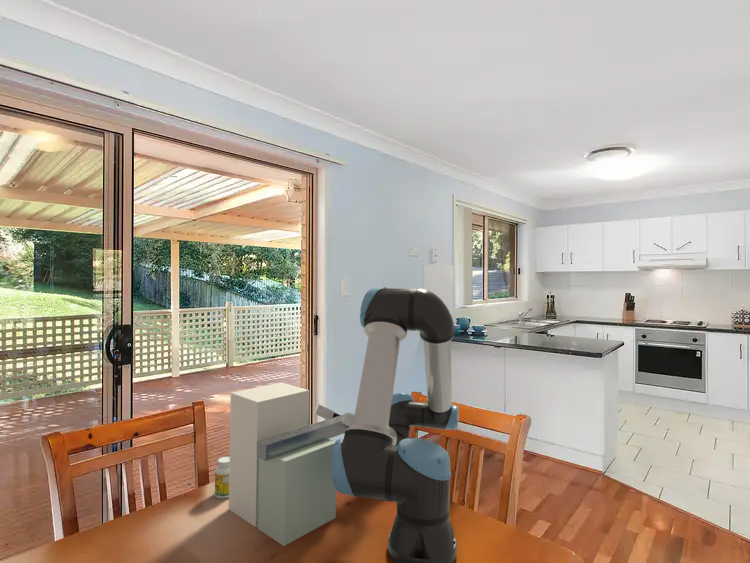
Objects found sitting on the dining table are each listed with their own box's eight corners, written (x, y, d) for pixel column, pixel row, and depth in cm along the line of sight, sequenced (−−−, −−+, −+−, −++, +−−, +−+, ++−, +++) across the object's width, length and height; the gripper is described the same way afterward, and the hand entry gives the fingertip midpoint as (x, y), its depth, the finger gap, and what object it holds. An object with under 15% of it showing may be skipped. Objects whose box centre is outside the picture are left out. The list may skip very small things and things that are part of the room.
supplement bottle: (237, 496, 120) (237, 461, 120) (216, 501, 118) (217, 465, 118) (232, 487, 125) (233, 454, 125) (212, 492, 122) (213, 457, 122)
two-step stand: (279, 487, 126) (281, 382, 125) (335, 517, 111) (338, 398, 110) (228, 508, 114) (230, 392, 113) (283, 546, 99) (286, 412, 98)
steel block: (349, 425, 123) (349, 412, 123) (358, 428, 121) (358, 415, 121) (256, 456, 101) (256, 441, 101) (265, 461, 98) (265, 445, 98)
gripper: (404, 460, 122) (355, 438, 107) (346, 439, 137) (297, 417, 123) (413, 433, 124) (366, 408, 110) (355, 415, 140) (308, 391, 125)
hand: (330, 413), depth 116 cm, fingers open, 10 cm apart
